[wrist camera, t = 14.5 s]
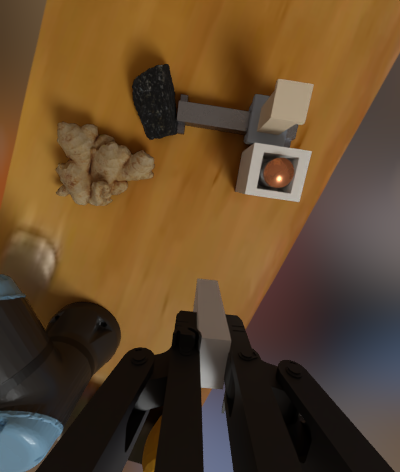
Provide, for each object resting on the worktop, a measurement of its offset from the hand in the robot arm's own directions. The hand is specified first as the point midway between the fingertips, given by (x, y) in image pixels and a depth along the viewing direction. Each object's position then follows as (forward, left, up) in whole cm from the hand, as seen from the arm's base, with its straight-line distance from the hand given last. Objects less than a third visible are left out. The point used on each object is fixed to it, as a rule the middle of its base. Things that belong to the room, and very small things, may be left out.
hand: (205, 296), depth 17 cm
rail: (+3, +19, -27) cm, 34 cm away
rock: (-10, +20, -28) cm, 36 cm away
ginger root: (-20, +8, -28) cm, 35 cm away
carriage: (+8, +19, -27) cm, 34 cm away
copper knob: (+9, +11, -23) cm, 27 cm away
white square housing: (+9, +11, -27) cm, 31 cm away
